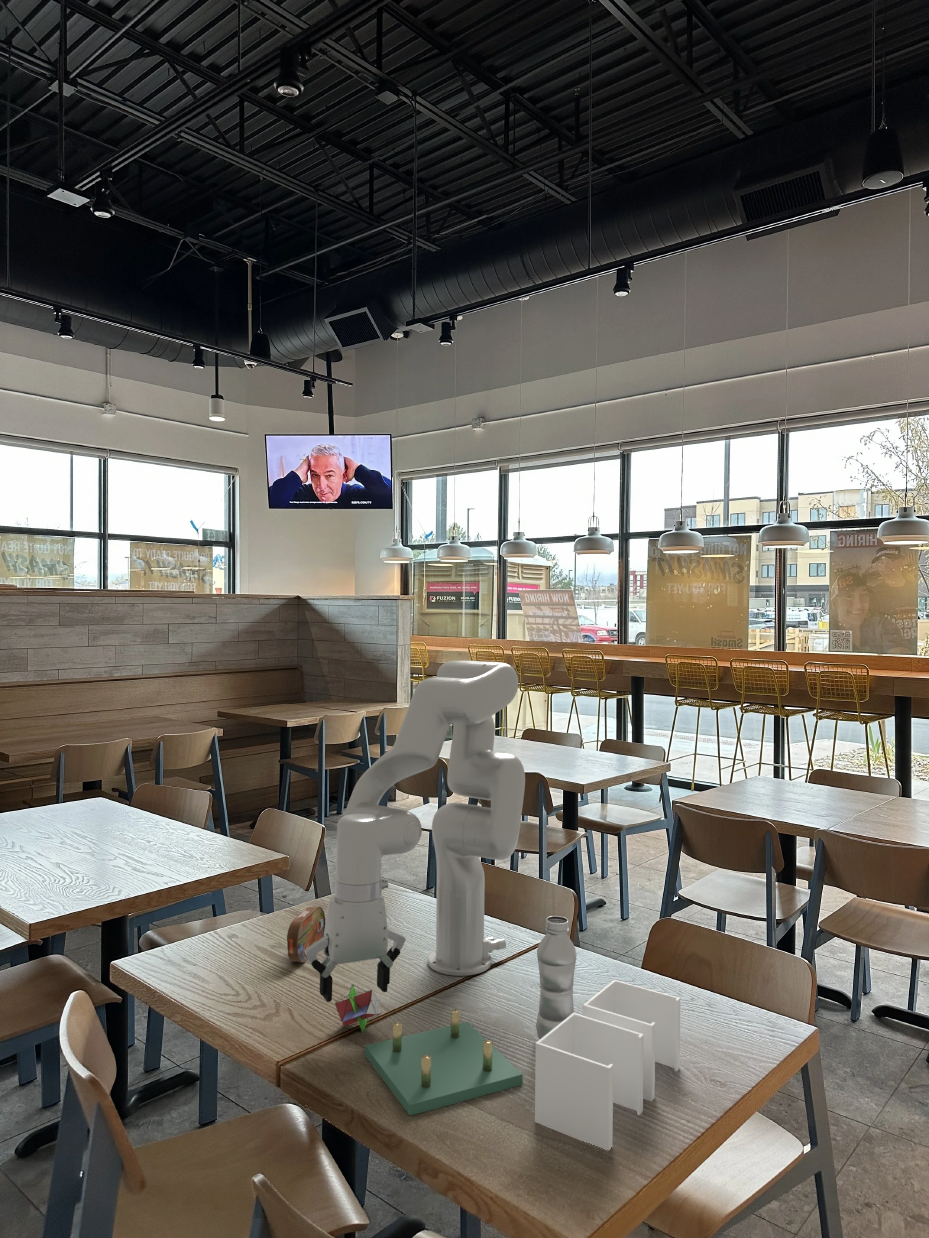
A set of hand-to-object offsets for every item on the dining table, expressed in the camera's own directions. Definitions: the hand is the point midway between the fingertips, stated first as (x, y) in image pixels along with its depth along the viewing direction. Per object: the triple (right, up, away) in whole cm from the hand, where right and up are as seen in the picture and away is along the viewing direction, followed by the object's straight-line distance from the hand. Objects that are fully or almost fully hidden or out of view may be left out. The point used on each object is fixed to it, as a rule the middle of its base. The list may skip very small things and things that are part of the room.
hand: (354, 993), depth 141 cm
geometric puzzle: (0, -6, +1) cm, 6 cm away
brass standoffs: (+15, -4, -12) cm, 20 cm away
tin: (-14, -6, +32) cm, 35 cm away
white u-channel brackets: (+40, -7, -18) cm, 44 cm away
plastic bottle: (+33, -6, -4) cm, 34 cm away
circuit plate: (+15, -6, -12) cm, 20 cm away
